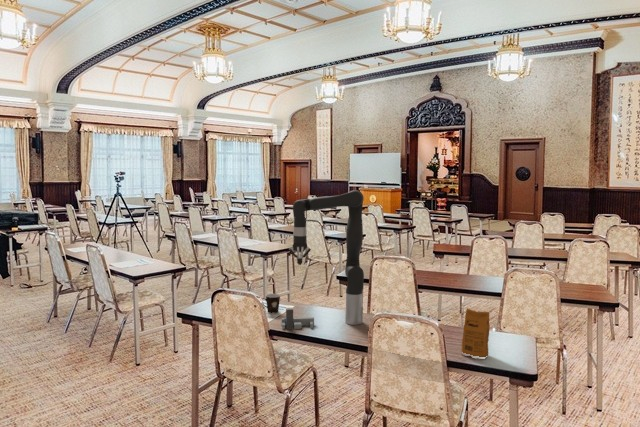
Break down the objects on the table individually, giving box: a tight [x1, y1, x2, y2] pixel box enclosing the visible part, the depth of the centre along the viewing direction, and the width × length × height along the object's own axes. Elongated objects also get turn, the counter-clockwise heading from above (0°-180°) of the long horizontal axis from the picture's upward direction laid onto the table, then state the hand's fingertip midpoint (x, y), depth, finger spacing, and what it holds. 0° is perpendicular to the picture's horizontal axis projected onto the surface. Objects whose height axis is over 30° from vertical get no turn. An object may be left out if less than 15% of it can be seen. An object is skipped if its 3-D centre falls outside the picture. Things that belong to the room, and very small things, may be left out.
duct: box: [280, 316, 315, 330], centre depth 268 cm, size 18×7×4 cm, turn 98°
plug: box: [285, 305, 294, 330], centre depth 265 cm, size 4×4×12 cm
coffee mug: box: [261, 293, 281, 314], centre depth 295 cm, size 12×9×10 cm
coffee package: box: [461, 308, 490, 357], centre depth 229 cm, size 10×12×22 cm
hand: (299, 264), depth 279 cm, fingers closed
